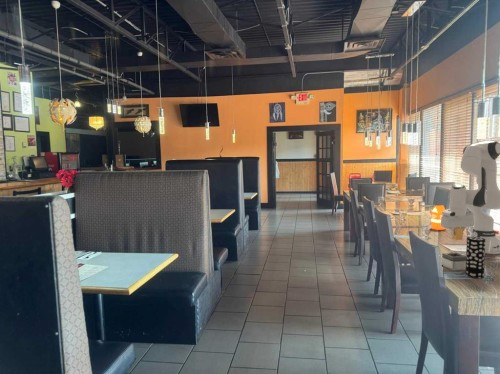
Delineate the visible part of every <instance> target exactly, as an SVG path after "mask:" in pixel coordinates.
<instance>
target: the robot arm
mask: <svg viewBox="0 0 500 374" xmlns="http://www.w3.org/2000/svg"><path fill="white" fill-rule="evenodd" d="M499 156H500V142H499V141H496V140H490V141H481V142H477V143H473V144H468V145H466V146H465V147H464V148H463V150H462V157H461V161H460V169H461V170H462V171H463V173H465V174H466V175H469V176H472V177H475V178H476V181H475V182H476V184H477V186H478V187H477V189H467V187H466V186H465V185H463V184H455V185H452V186H451V188H450V193H449V202H450V204H449V208H446V209H445V211H442V215H443V216H442V217H441V227H442V228H446V229H449V230H450V234H451V236H452V235H455V232H454V231H453V229H454V228H457V227H460V228H463V232H465V230H466V228H469V227H471V228H472V227H473V229H472V237H480V238H484V239H485V254H489V255H499V254H500V238H499V237H498V236H497V235H499V234H500V231H498V230H494V223H495V221H494V218H493V217H492V216H491V215H489V214H488V213H486V212H485V211H484V210H500V189H499V186H498V183H497V174H498V173H497V172H498V166H497V159H498V157H499ZM467 209H468V210H467Z"/></svg>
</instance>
